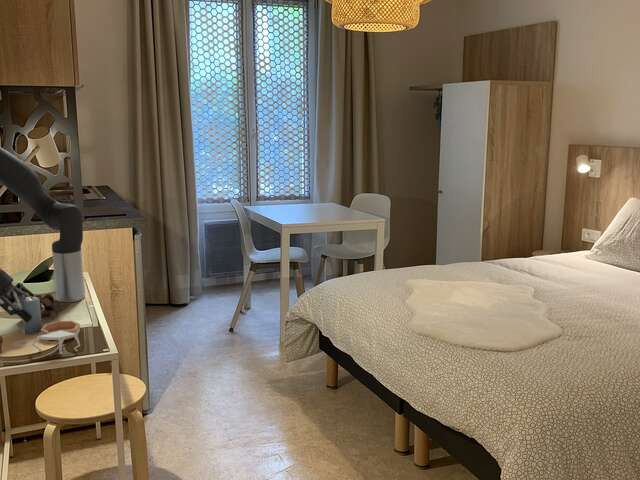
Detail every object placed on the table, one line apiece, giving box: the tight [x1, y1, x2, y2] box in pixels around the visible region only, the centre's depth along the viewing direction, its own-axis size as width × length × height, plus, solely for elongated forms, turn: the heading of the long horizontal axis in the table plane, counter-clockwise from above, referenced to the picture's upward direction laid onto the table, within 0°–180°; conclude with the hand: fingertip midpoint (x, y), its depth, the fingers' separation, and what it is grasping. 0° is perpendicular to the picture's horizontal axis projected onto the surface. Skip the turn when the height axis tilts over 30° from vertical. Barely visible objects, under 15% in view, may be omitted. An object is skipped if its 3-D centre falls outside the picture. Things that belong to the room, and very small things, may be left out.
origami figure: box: [31, 330, 81, 355], centre depth 180 cm, size 12×8×5 cm
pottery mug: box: [34, 293, 59, 320], centre depth 207 cm, size 12×10×8 cm
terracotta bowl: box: [40, 320, 81, 341], centre depth 192 cm, size 10×10×2 cm
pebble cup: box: [20, 296, 43, 335], centre depth 194 cm, size 5×5×11 cm
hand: (35, 315), depth 194 cm, fingers open, 8 cm apart
